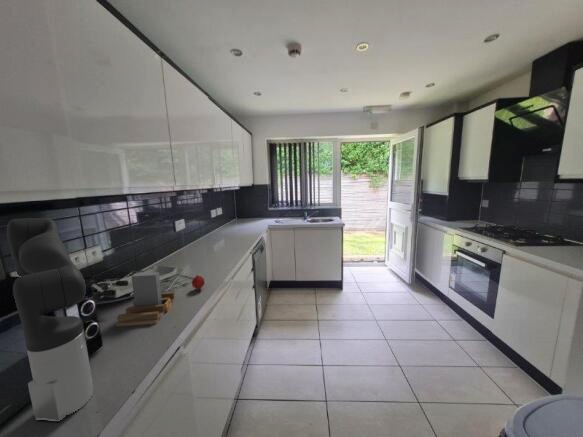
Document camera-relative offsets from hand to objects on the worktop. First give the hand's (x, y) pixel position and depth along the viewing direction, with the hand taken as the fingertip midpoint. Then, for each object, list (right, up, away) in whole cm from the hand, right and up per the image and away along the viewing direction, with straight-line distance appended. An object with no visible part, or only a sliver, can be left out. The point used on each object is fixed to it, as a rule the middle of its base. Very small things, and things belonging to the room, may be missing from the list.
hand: (121, 287), depth 93 cm
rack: (+10, -11, +3) cm, 14 cm away
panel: (+10, -10, +3) cm, 14 cm away
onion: (+23, -8, +21) cm, 32 cm away
